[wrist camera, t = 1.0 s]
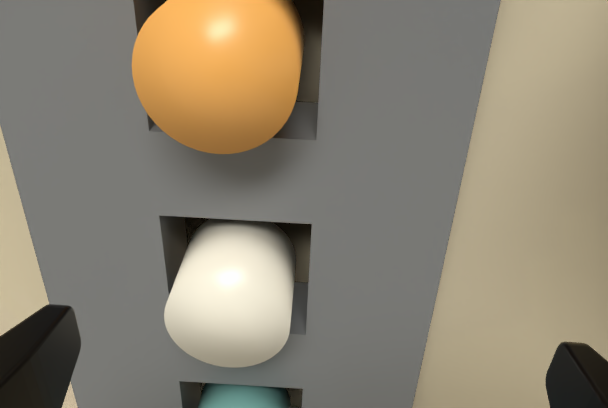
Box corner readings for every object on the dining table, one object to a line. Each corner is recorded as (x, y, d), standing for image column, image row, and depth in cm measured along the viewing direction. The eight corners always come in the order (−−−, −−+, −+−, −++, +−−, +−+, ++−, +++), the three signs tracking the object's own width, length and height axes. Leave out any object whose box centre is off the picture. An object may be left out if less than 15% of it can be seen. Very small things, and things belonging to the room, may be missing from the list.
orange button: (307, -30, 15) (301, -5, 12) (302, 108, 17) (295, 158, 14) (161, -37, 15) (121, -13, 12) (173, 101, 17) (141, 150, 14)
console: (491, -109, 15) (523, -103, 13) (388, 432, 28) (394, 488, 26) (-5, -132, 16) (-70, -130, 13) (116, 414, 28) (94, 469, 26)
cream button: (297, 215, 19) (291, 278, 16) (294, 302, 21) (288, 371, 18) (184, 209, 19) (157, 270, 16) (191, 296, 21) (169, 363, 19)
